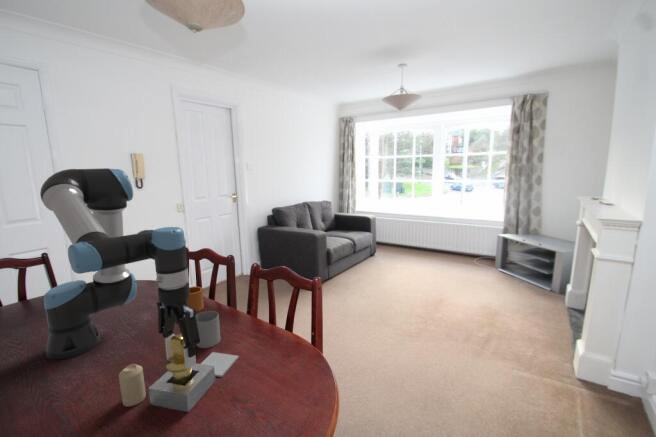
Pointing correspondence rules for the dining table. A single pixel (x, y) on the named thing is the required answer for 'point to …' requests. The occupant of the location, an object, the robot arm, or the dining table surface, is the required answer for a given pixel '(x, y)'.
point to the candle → (132, 385)
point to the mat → (220, 362)
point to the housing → (182, 389)
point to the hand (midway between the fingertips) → (181, 361)
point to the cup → (208, 329)
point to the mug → (195, 298)
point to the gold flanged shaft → (178, 362)
